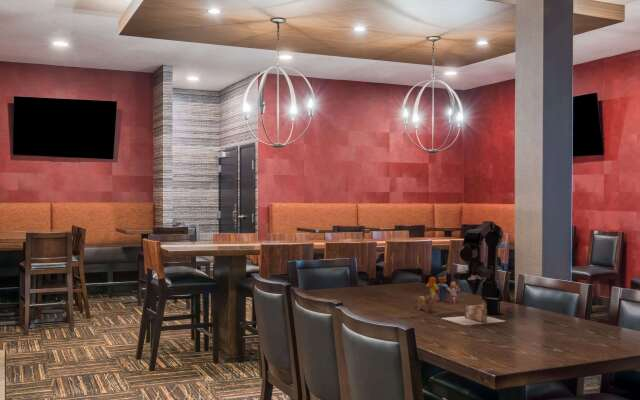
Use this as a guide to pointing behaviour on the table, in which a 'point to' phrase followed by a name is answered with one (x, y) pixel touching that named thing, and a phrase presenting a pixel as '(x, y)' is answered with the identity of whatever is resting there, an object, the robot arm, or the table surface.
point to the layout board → (471, 320)
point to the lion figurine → (427, 301)
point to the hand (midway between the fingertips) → (474, 294)
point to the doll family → (443, 289)
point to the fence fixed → (480, 306)
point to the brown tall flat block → (475, 313)
